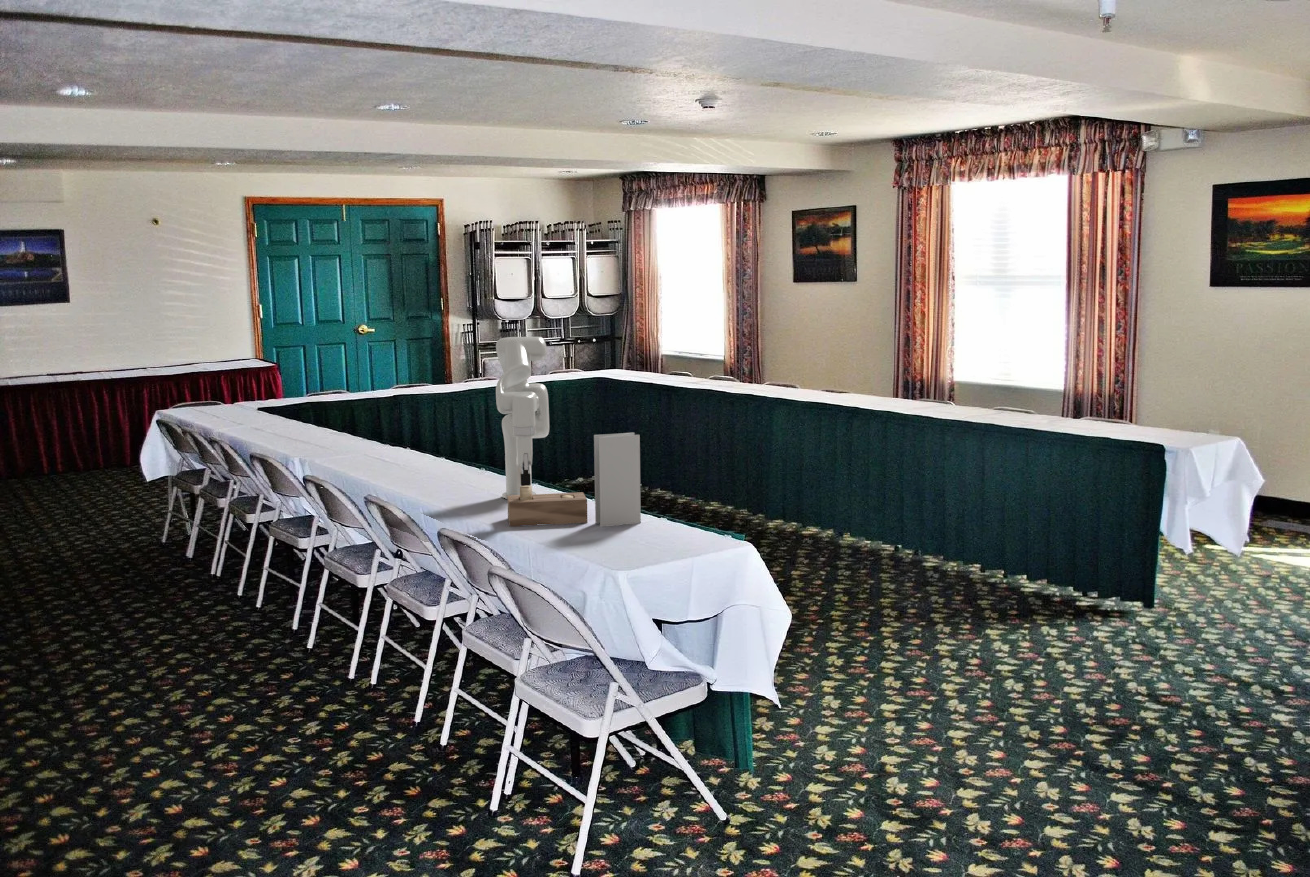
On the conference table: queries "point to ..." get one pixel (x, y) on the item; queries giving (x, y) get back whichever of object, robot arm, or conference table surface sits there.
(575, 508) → the walnut block
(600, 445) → the brochure
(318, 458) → the conference table surface
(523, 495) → the peg
